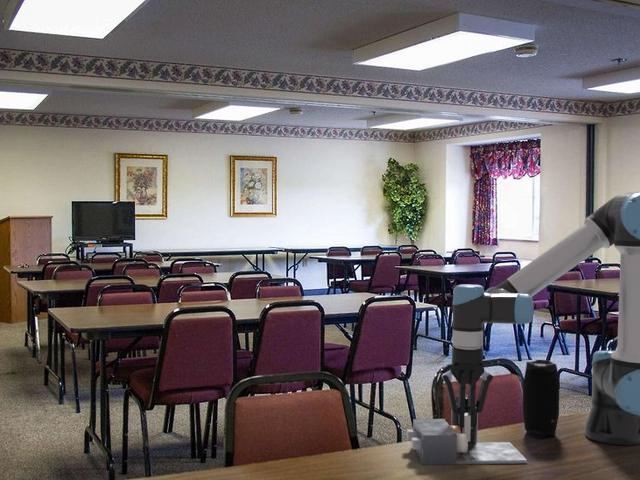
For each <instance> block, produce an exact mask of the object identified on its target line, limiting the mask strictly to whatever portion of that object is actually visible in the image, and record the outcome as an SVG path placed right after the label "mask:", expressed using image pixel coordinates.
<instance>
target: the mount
mask: <svg viewBox="0 0 640 480" xmlns="http://www.w3.org/2000/svg"><path fill="white" fill-rule="evenodd" d="M449 425H450V424H449V423H448V422H447V421H446V419H445V418H414V419H412V427H413V428H412V429H416V430H417V438H421V439H422V449H414V451H415V453H416V455H417V456H418V459H419V460H420V462H421V465H424V466H426V465H429V466H430V465H432V466H433V465H434V466H435V465H501V464H502V465H504V464H505V465H506V464H507V465H508V464H509V465H510V464H511V465H513V464H528V459H527V458H526V457H525V456H524V455H523V454H522V453H521V452H520V451H519V450H518V448H516V446H514V445H513V444H512V443H511V442H509V441H508V442H507V441H504V442H501V441H499V442H498V441H496V442H495V441H494V442H493V441H491V442H490V441H487V442H476V443H468V450H467V452H457V435H456V433H455V432H454V431H453V430H452V428H451V427H450V426H449Z"/></svg>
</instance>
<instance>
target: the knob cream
mask: <svg viewBox="0 0 640 480" xmlns="http://www.w3.org/2000/svg"><path fill="white" fill-rule="evenodd" d="M456 435H457V452H467V450H468V440H467V436H466V434H456ZM410 447H411V449H412V450H415V449H422V439H421V438H411V444H410Z"/></svg>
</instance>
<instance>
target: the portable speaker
mask: <svg viewBox="0 0 640 480" xmlns="http://www.w3.org/2000/svg"><path fill="white" fill-rule="evenodd" d="M525 366H526V367H525V372H524V376H523V381H522V415H523V424H524V430H525V431H526V432H527V434H528V435H529V437H530V438H536V439H544V438H545V437H546V436H550V435H551V436H552V437H555V436H556V432H557V427H558V423H559V422H558V421H559V418H560V417H559V416H560V379H559V373H558V367H557V363H554V362H552V361H550V360H548V359H547V360H546V359H535V360H533V361H526V364H525Z"/></svg>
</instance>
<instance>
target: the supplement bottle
mask: <svg viewBox="0 0 640 480" xmlns="http://www.w3.org/2000/svg"><path fill="white" fill-rule="evenodd" d="M455 400H456V404H457V407H458V394H455ZM465 413H469V412H468V393H467V394H466V393H465ZM450 416H451V417H450V418H451V419H450V425H458V413H454V412H453V411H452V410H451V413H450ZM478 420H479V413H476V415H475V421H474V427H470V442H468V443H478V432H479V431H478V426H479V425H478V424H479V421H478ZM460 430H461V434H462V428H460Z"/></svg>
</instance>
